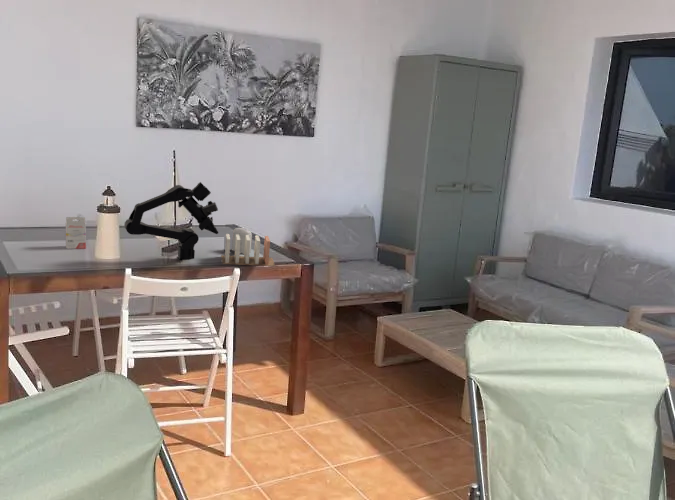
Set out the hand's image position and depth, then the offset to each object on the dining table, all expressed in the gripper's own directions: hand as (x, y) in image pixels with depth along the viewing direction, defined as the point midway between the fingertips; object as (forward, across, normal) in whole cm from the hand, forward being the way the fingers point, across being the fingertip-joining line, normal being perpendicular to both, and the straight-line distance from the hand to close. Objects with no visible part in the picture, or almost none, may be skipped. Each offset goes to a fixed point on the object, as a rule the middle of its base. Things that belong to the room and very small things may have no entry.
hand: (217, 233), depth 313 cm
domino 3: (+18, 0, -1) cm, 18 cm away
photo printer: (+18, +16, +1) cm, 24 cm away
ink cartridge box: (-35, +13, +54) cm, 66 cm away
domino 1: (+12, 0, +5) cm, 13 cm away
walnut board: (+20, 0, -1) cm, 20 cm away
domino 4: (+22, 0, -4) cm, 22 cm away
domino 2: (+15, 0, +2) cm, 15 cm away
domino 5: (+25, 0, -8) cm, 26 cm away
